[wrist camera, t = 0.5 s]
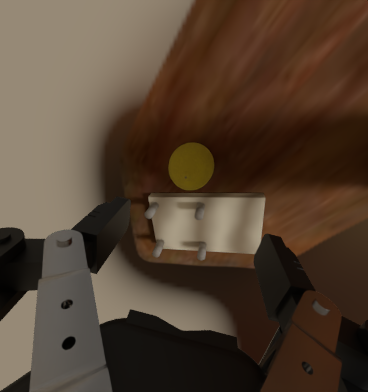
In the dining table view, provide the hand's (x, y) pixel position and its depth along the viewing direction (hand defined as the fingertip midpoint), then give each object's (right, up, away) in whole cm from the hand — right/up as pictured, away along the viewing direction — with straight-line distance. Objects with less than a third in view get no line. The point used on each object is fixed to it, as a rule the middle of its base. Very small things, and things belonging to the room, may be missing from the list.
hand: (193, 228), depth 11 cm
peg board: (+3, -2, +20) cm, 21 cm away
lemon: (+1, +7, +16) cm, 18 cm away
